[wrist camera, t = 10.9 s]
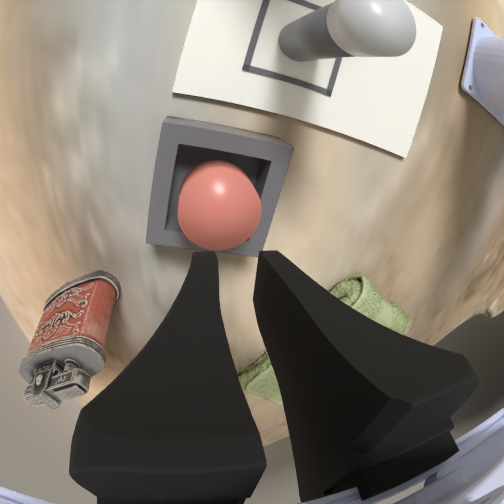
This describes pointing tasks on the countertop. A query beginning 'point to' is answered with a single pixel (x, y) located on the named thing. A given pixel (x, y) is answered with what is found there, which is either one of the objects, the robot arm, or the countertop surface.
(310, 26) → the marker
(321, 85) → the paper sheet
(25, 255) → the countertop surface
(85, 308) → the lighter
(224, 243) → the button
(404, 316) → the washcloth
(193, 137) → the button housing
